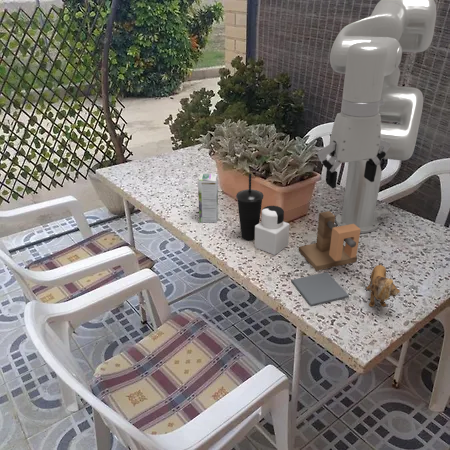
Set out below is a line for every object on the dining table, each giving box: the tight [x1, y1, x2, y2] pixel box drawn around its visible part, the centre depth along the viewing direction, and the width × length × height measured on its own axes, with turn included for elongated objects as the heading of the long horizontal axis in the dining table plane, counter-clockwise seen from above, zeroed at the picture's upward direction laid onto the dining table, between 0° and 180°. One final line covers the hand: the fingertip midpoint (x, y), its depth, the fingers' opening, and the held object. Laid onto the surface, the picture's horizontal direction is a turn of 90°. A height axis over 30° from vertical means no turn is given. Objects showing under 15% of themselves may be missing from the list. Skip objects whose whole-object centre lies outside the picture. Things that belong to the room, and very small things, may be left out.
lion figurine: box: [366, 264, 401, 308], centre depth 98 cm, size 15×5×9 cm, turn 174°
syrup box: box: [197, 172, 219, 224], centre depth 131 cm, size 6×6×14 cm
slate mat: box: [291, 271, 350, 307], centre depth 102 cm, size 10×10×1 cm
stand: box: [298, 210, 358, 272], centre depth 110 cm, size 12×16×12 cm
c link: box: [329, 224, 361, 261], centre depth 105 cm, size 6×3×8 cm, turn 108°
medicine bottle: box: [254, 205, 291, 256], centre depth 117 cm, size 7×7×12 cm
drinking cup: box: [235, 173, 264, 242], centre depth 120 cm, size 8×8×20 cm
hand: (350, 182), depth 96 cm, fingers open, 9 cm apart
